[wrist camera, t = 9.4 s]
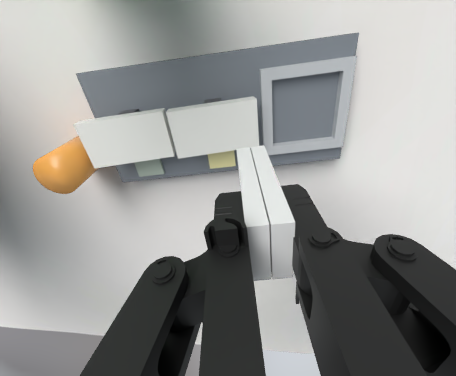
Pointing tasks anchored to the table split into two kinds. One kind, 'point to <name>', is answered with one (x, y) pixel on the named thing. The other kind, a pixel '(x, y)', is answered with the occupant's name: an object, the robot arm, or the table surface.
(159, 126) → the block
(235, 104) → the breaker
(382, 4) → the table surface
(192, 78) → the panel
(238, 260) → the robot arm
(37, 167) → the pin
